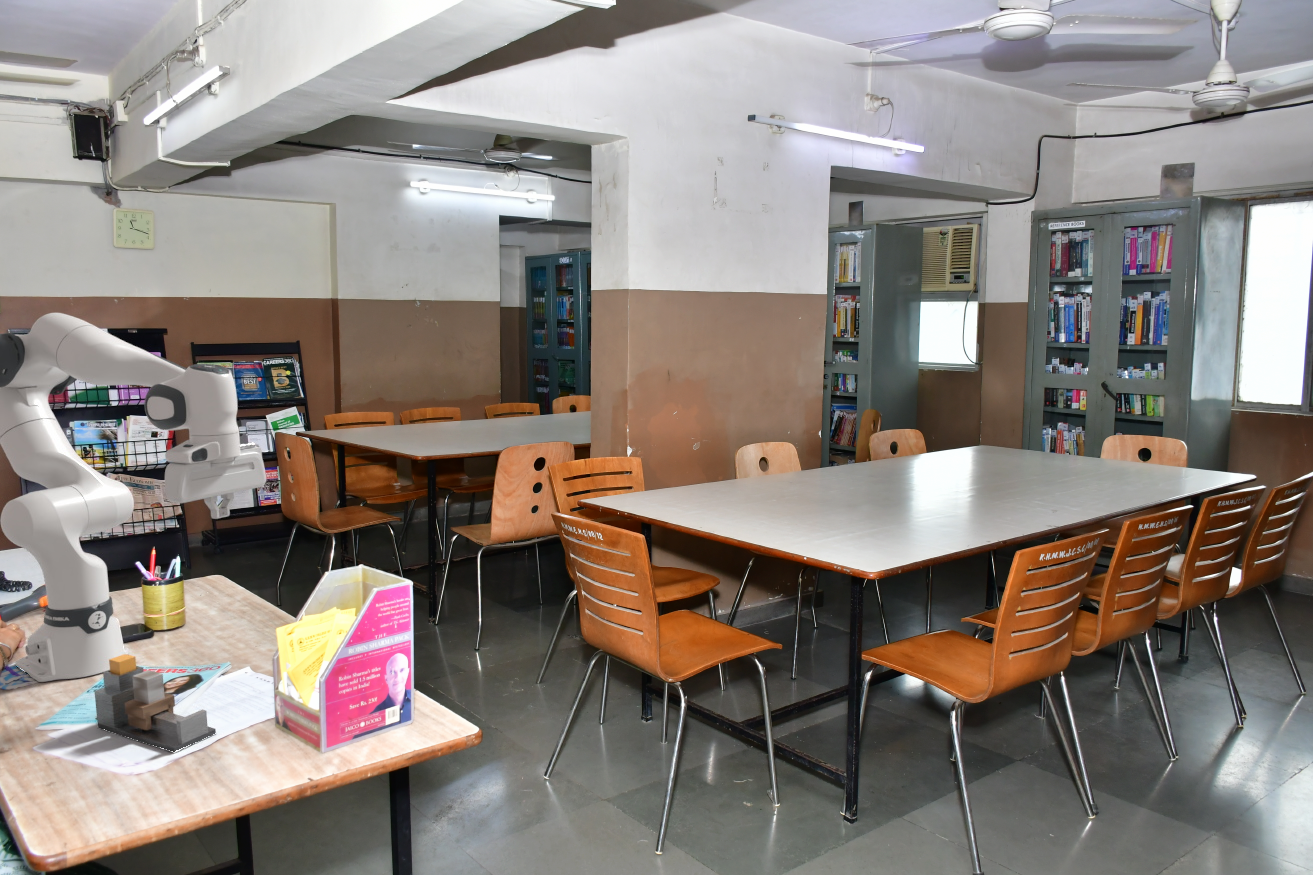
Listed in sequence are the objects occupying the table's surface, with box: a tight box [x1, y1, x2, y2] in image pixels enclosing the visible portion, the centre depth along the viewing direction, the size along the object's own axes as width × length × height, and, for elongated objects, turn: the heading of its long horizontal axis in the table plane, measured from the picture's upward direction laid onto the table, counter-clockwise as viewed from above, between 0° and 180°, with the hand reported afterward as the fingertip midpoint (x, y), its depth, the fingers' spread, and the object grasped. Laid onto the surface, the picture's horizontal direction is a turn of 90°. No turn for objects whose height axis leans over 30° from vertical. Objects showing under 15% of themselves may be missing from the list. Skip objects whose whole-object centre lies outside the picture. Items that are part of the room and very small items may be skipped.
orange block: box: [109, 654, 137, 675], centre depth 169 cm, size 3×3×5 cm
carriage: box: [125, 669, 176, 730], centre depth 166 cm, size 5×6×9 cm
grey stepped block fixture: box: [94, 665, 217, 752], centre depth 165 cm, size 21×8×10 cm, turn 62°
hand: (220, 517), depth 183 cm, fingers closed
